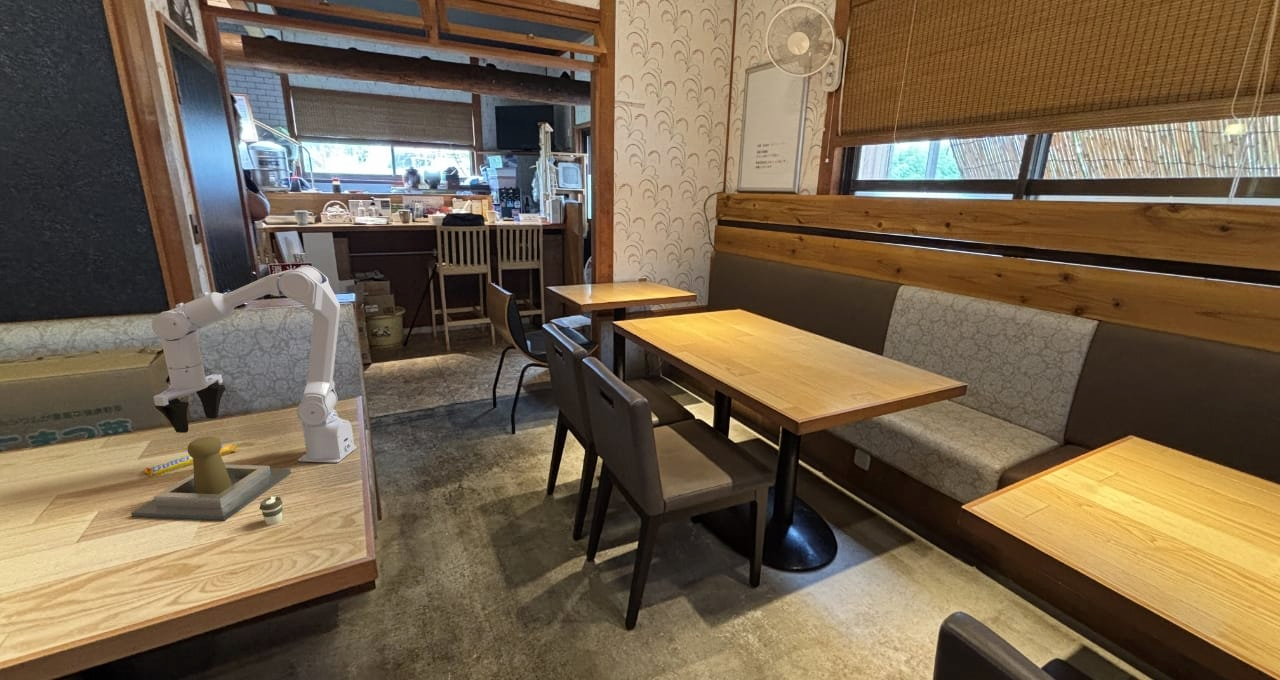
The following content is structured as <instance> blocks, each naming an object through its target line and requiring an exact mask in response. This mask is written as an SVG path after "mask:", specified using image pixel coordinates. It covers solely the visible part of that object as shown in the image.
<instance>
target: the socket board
mask: <svg viewBox="0 0 1280 680" xmlns="http://www.w3.org/2000/svg"><path fill="white" fill-rule="evenodd" d="M224 465H225V468H226V470H227V473H228V475H229V478H230V480H231V483H232V486H231V487H229V488H228V489H226V490H225V491H223V492H221V493H219V494H195V493H194V473H192V474H191V475H188V476H187V477H184V479H182V480H180V481H178V482H177V483H175V484H173V485H171V486H170V487H168V488H166V489H164V490H162V491H160V492H159V493H157V494H155V495H154V496H153V498H154V499H152V500H150V501H148V502H146V503H145V504H143V505H141V506H140V507H138V508H137V509H134V510H133V511H131V512H130V515H131V518H143V519H144V518H145V519H162V520H163V519H164V520H165V519H167V520H169V519H170V520H192V521H214V522H218V521H220V522H222V521H223V522H225V521H227V520H228V519H229V518H231V517H232V516H233V515H235V514H237V513H238V512H240V510H241V511H242V509H243V508H245V507H246V506H247V505H249V504H251V503H252V502H253V501H254V500H256V499H257V498H259V497H260V496H261V495H263V494H264V493H266V492H267V491H268V490H270V489H271V488H272V487H274V486H276V485H277V484H278V483H280V482H281V481H282V480H284V479H285V478H287V477H288V476H290V475H291V473H292V472H291V468H272V467H270V465H257V464H256V465H252V464H251V465H250V464H227V463H224Z"/></svg>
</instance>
